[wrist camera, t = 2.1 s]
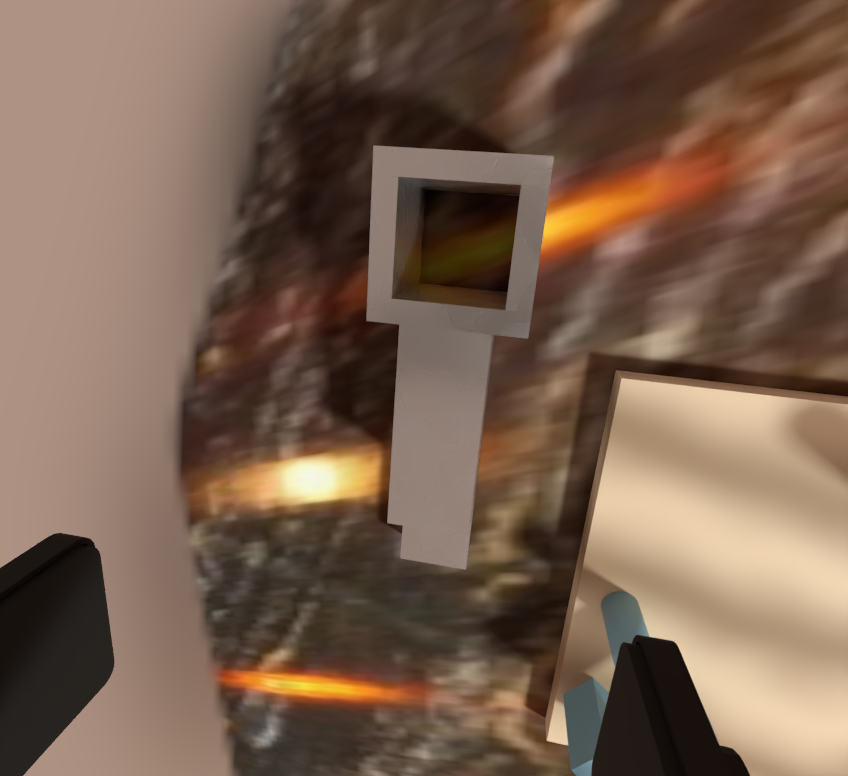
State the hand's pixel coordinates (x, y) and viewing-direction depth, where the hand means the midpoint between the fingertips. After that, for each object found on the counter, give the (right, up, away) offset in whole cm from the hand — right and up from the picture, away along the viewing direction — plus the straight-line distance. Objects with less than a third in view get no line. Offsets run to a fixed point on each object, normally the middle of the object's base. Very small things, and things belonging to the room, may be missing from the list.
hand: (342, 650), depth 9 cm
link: (+3, +5, +13) cm, 14 cm away
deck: (+16, -5, +13) cm, 22 cm away
